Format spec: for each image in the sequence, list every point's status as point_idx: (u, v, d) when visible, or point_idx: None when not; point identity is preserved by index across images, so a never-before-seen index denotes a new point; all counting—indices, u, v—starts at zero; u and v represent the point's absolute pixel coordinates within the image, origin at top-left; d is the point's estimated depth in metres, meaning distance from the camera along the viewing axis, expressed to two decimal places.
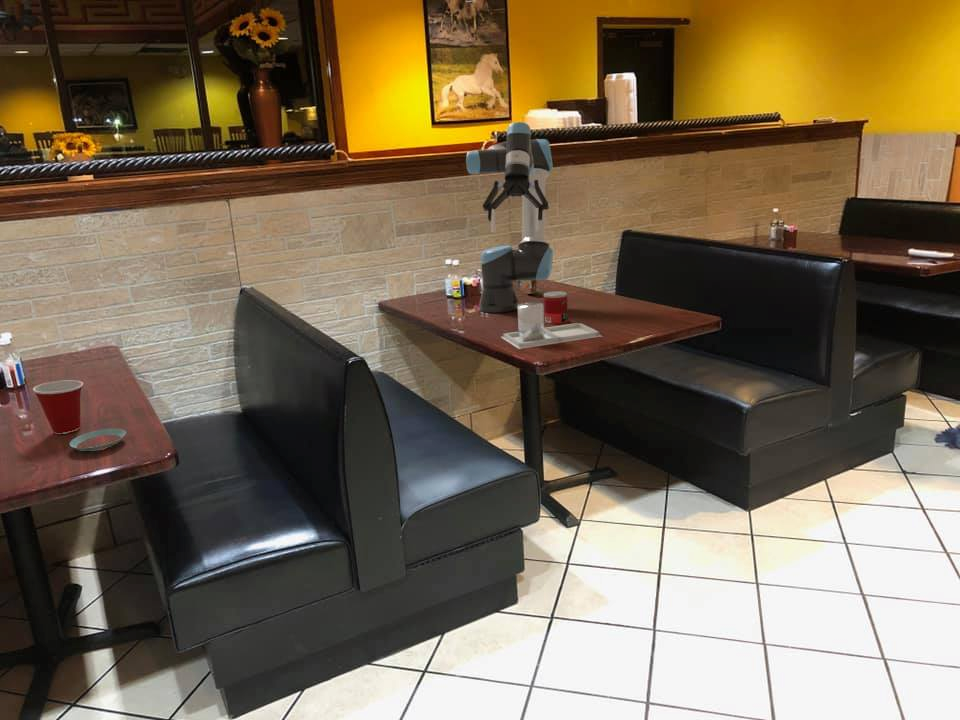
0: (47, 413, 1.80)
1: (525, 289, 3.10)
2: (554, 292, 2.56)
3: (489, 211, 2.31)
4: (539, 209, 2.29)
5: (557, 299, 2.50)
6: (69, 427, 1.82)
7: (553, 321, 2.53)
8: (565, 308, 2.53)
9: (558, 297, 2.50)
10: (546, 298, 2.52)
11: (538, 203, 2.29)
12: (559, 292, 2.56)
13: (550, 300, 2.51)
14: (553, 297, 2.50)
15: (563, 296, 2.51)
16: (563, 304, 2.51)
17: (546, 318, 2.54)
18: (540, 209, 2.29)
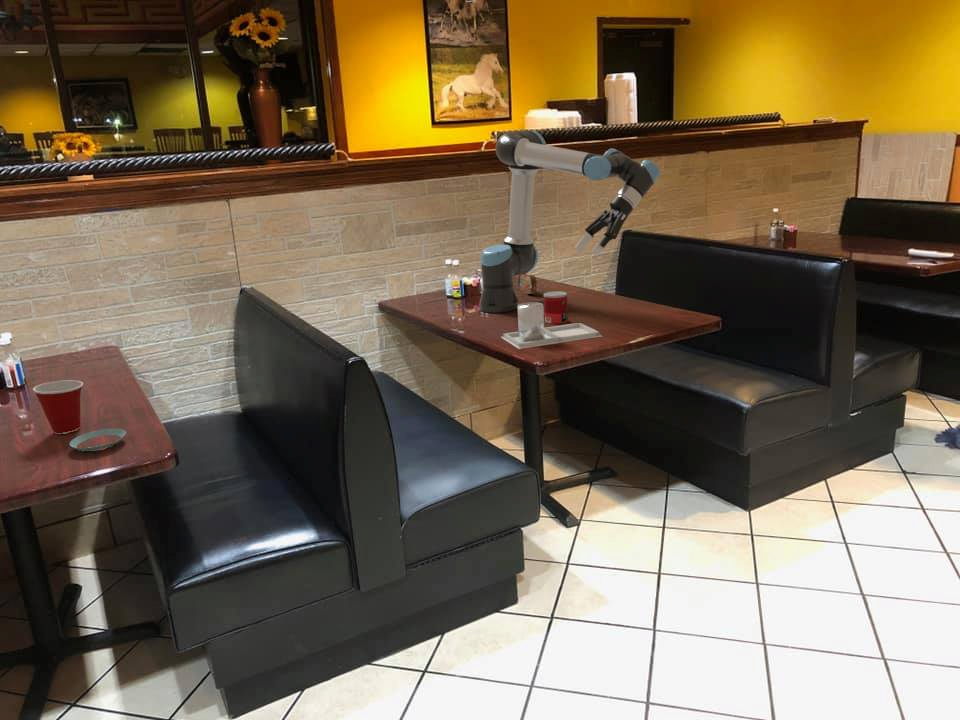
0: (47, 413, 1.80)
1: (525, 289, 3.10)
2: (554, 292, 2.56)
3: None
4: None
5: (557, 299, 2.50)
6: (69, 427, 1.82)
7: (553, 321, 2.53)
8: (565, 308, 2.53)
9: (558, 297, 2.50)
10: (546, 298, 2.52)
11: None
12: (559, 292, 2.56)
13: (550, 300, 2.51)
14: (553, 297, 2.50)
15: (563, 296, 2.51)
16: (563, 304, 2.51)
17: (546, 318, 2.54)
18: None
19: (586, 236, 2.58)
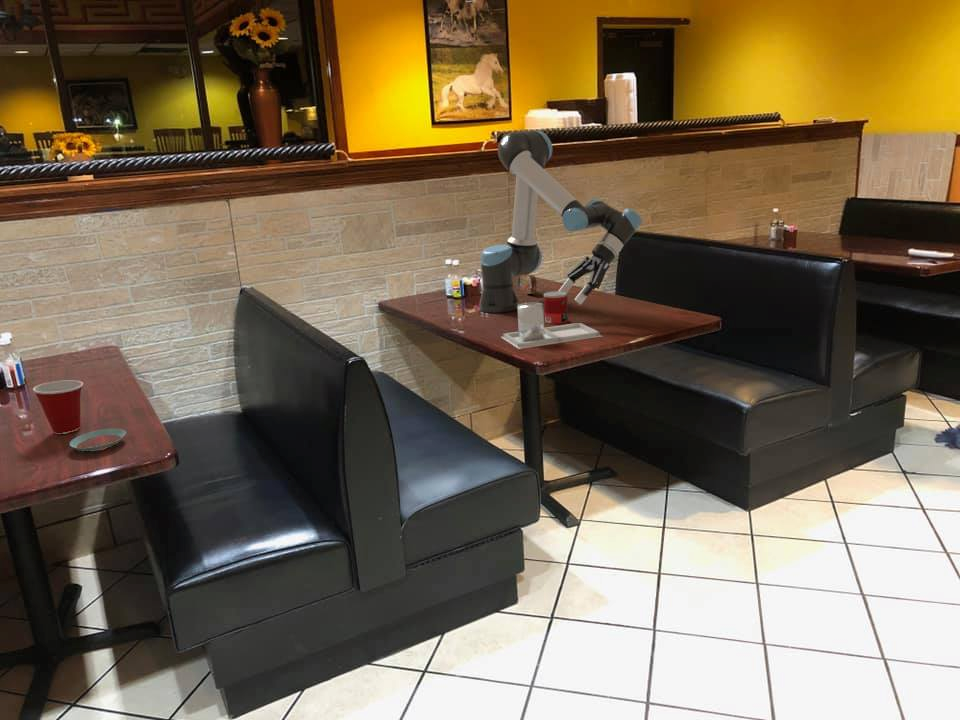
0: (47, 413, 1.80)
1: (525, 289, 3.10)
2: (554, 292, 2.56)
3: None
4: None
5: (557, 299, 2.50)
6: (69, 427, 1.82)
7: (553, 321, 2.53)
8: (565, 308, 2.53)
9: (558, 297, 2.50)
10: (546, 298, 2.52)
11: None
12: (559, 292, 2.56)
13: (550, 300, 2.51)
14: (553, 297, 2.50)
15: (563, 296, 2.51)
16: (563, 304, 2.51)
17: (546, 318, 2.54)
18: None
19: (568, 282, 2.60)
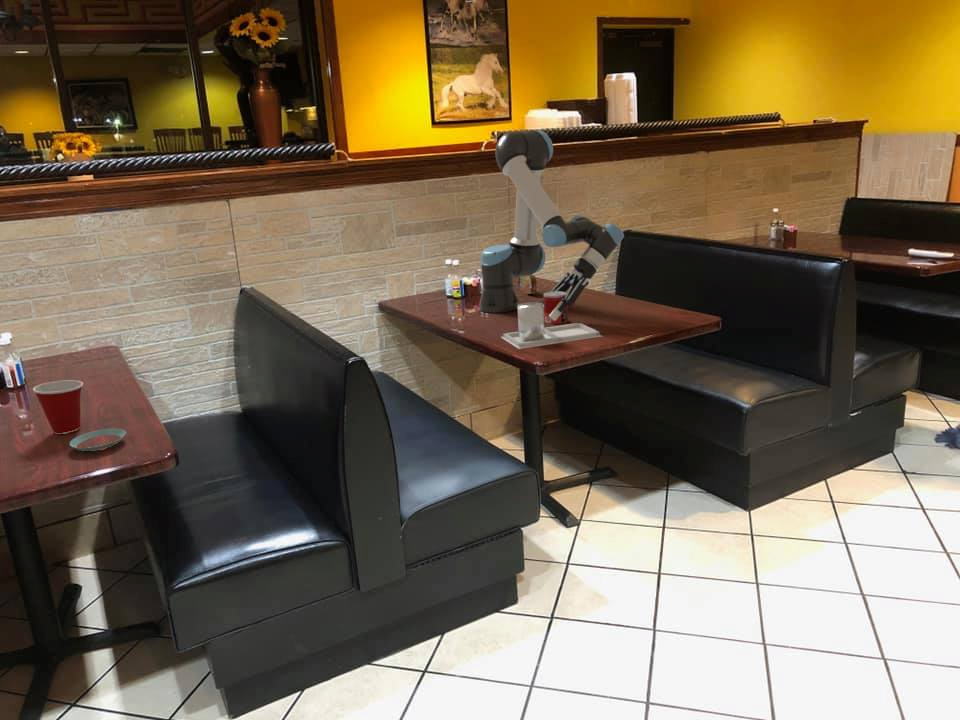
0: (47, 413, 1.80)
1: (525, 289, 3.10)
2: (554, 292, 2.56)
3: None
4: None
5: (557, 299, 2.50)
6: (69, 427, 1.82)
7: (553, 321, 2.53)
8: (565, 308, 2.53)
9: (558, 297, 2.50)
10: (546, 298, 2.52)
11: None
12: (559, 292, 2.56)
13: (550, 300, 2.51)
14: (553, 297, 2.50)
15: (563, 296, 2.51)
16: None
17: (546, 318, 2.54)
18: None
19: None
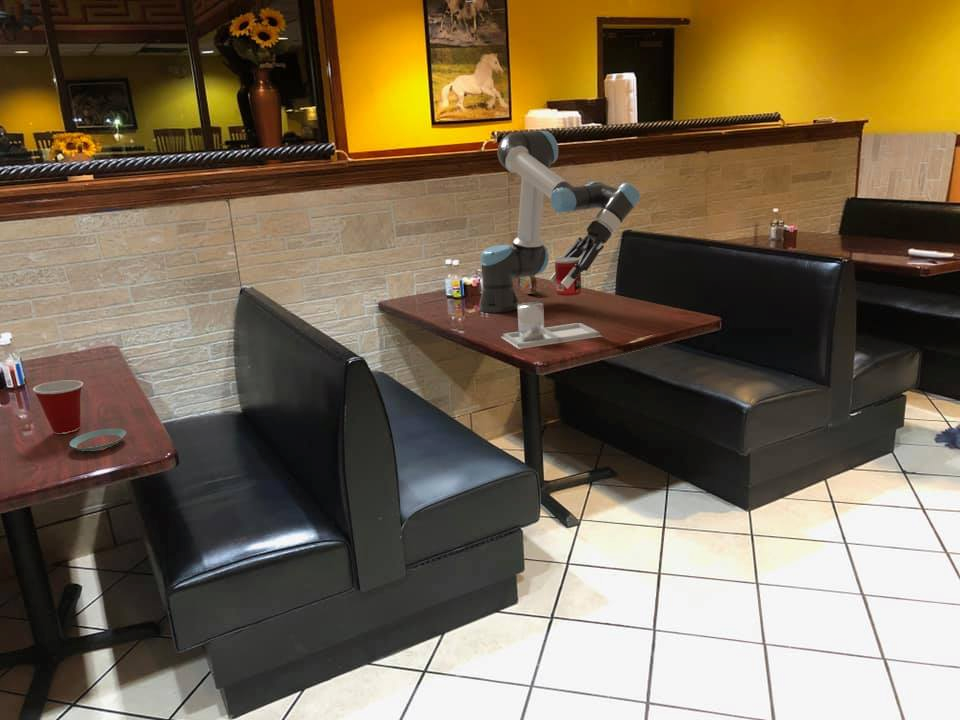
0: (47, 413, 1.80)
1: (525, 289, 3.10)
2: (566, 258, 2.38)
3: None
4: None
5: (569, 265, 2.32)
6: (69, 427, 1.82)
7: (566, 288, 2.34)
8: (578, 275, 2.34)
9: (571, 262, 2.32)
10: (558, 264, 2.34)
11: None
12: (571, 258, 2.38)
13: (562, 266, 2.33)
14: (565, 262, 2.32)
15: (576, 261, 2.32)
16: None
17: (558, 286, 2.36)
18: None
19: None
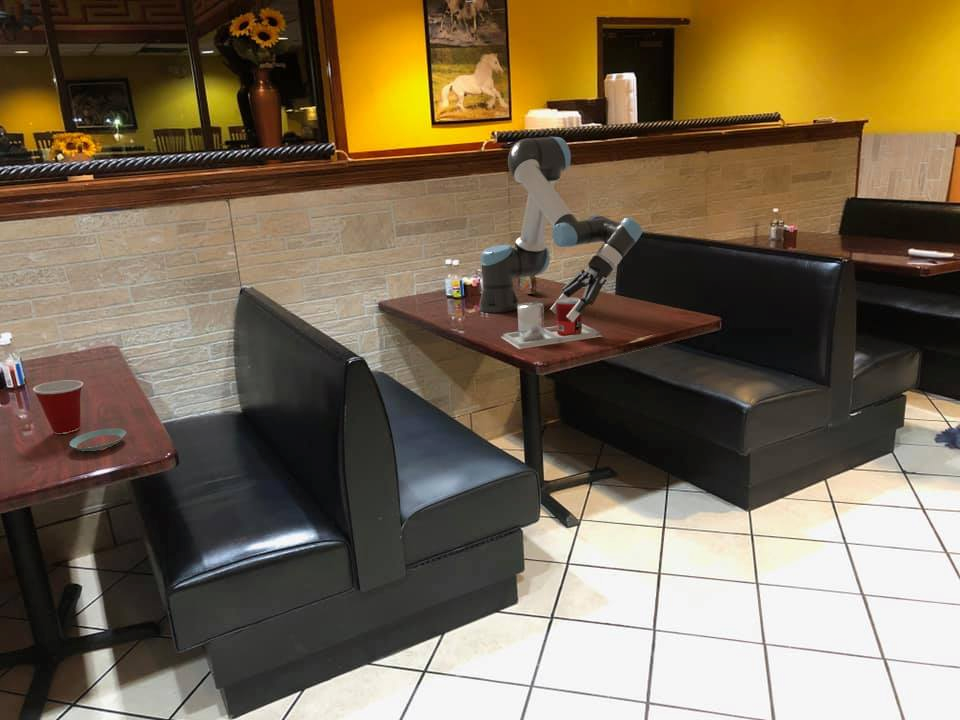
0: (47, 413, 1.80)
1: (525, 289, 3.10)
2: (567, 298, 2.39)
3: None
4: None
5: (570, 306, 2.33)
6: (69, 427, 1.82)
7: (566, 329, 2.35)
8: (579, 315, 2.35)
9: (571, 303, 2.33)
10: (558, 304, 2.35)
11: None
12: (572, 298, 2.38)
13: (563, 307, 2.33)
14: (566, 303, 2.33)
15: (577, 302, 2.33)
16: None
17: (558, 326, 2.37)
18: None
19: (563, 297, 2.41)
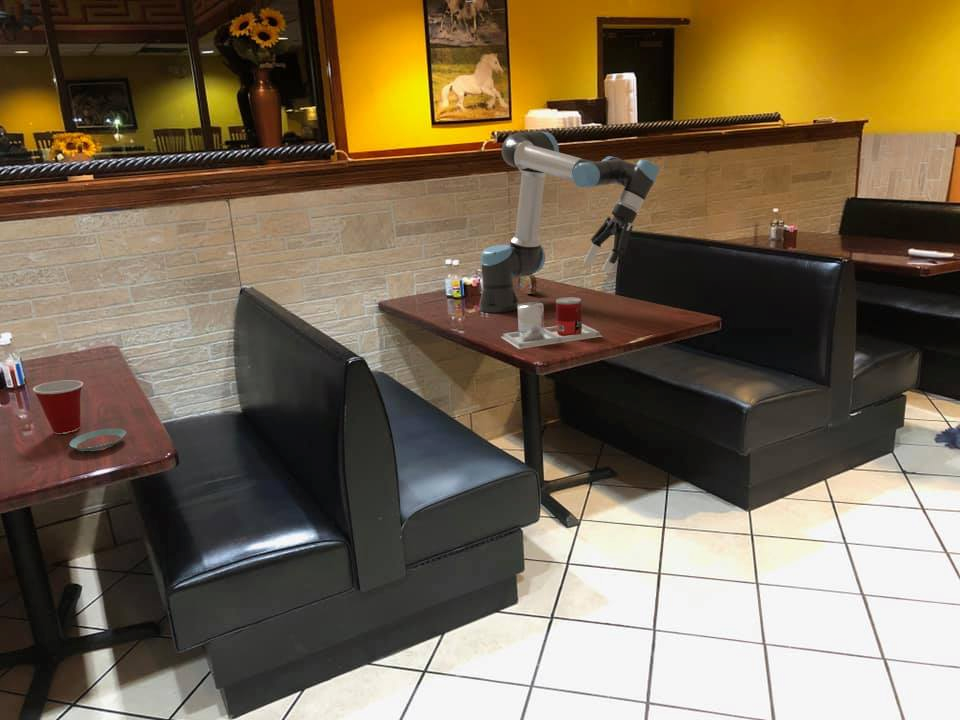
0: (47, 413, 1.80)
1: (525, 289, 3.10)
2: (567, 298, 2.39)
3: None
4: None
5: (570, 306, 2.33)
6: (69, 427, 1.82)
7: (566, 329, 2.35)
8: (579, 315, 2.35)
9: (571, 304, 2.33)
10: (559, 305, 2.34)
11: None
12: (572, 298, 2.38)
13: (563, 307, 2.33)
14: (566, 303, 2.33)
15: (577, 303, 2.33)
16: (577, 311, 2.34)
17: (558, 326, 2.37)
18: None
19: (594, 248, 2.48)
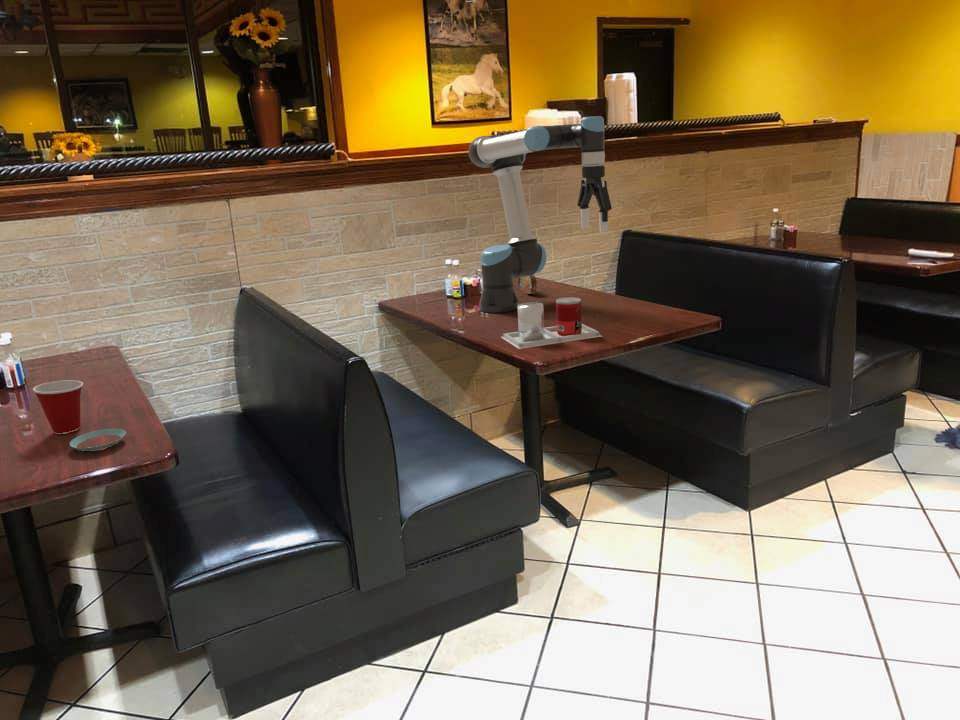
0: (47, 413, 1.80)
1: (525, 289, 3.10)
2: (567, 298, 2.39)
3: None
4: None
5: (570, 306, 2.33)
6: (69, 427, 1.82)
7: (566, 329, 2.35)
8: (579, 315, 2.35)
9: (571, 304, 2.33)
10: (558, 305, 2.34)
11: None
12: (572, 298, 2.38)
13: (563, 307, 2.33)
14: (566, 303, 2.33)
15: (577, 303, 2.33)
16: (577, 311, 2.34)
17: (558, 326, 2.37)
18: None
19: (584, 212, 2.59)
